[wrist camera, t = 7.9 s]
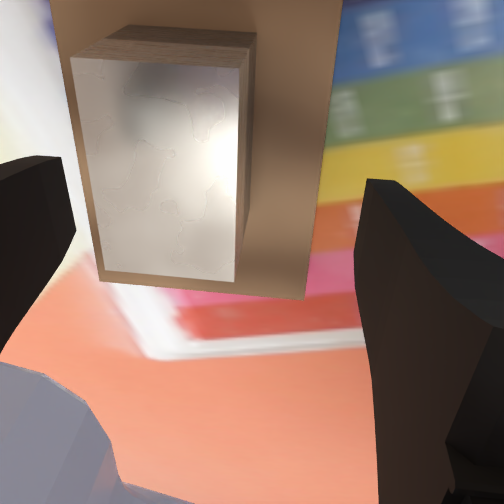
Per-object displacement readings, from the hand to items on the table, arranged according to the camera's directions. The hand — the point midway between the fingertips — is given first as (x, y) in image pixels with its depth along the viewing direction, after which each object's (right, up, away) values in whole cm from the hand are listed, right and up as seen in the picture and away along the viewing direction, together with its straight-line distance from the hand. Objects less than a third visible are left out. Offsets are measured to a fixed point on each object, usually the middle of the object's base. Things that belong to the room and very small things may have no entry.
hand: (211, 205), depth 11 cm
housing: (-1, +4, +7) cm, 8 cm away
